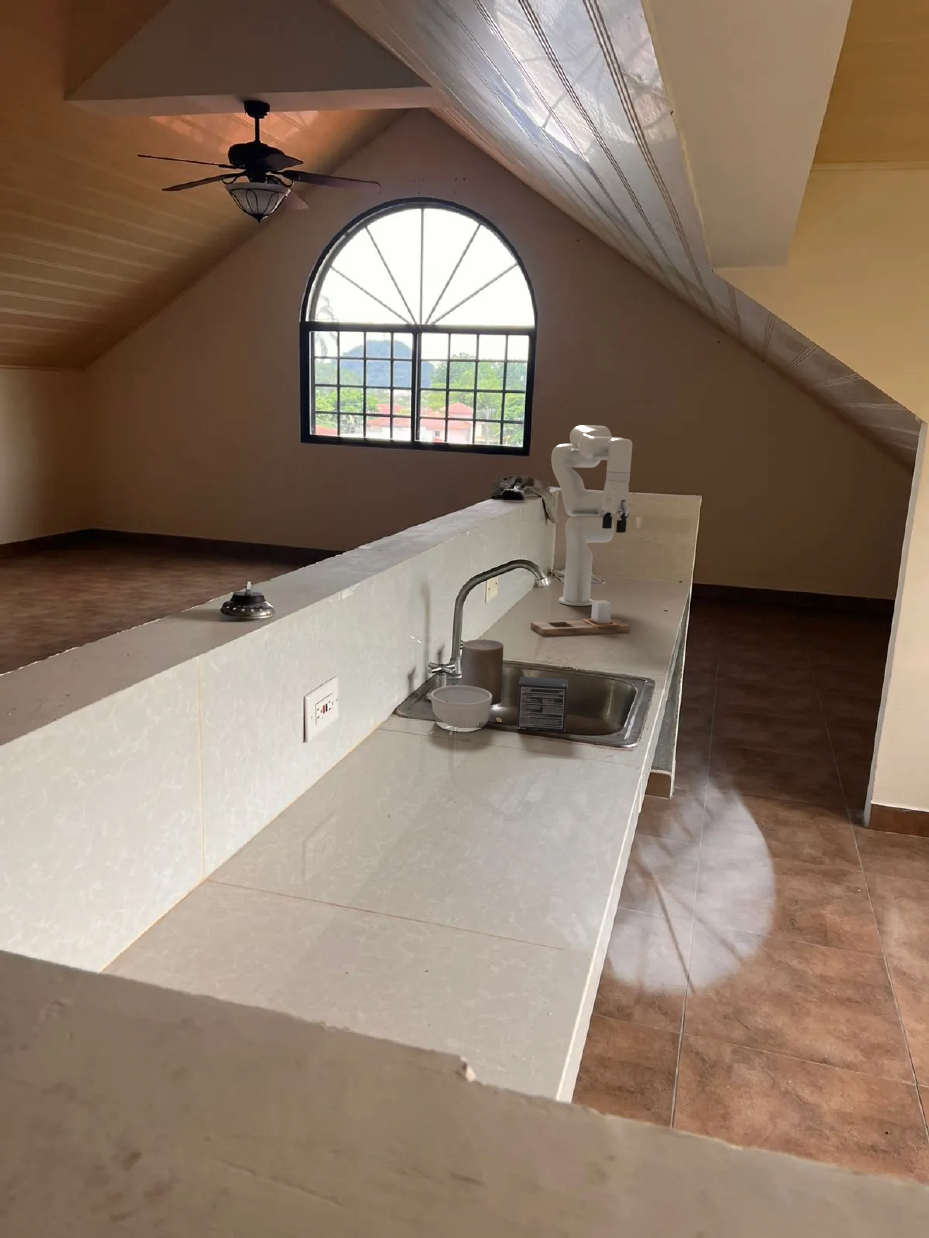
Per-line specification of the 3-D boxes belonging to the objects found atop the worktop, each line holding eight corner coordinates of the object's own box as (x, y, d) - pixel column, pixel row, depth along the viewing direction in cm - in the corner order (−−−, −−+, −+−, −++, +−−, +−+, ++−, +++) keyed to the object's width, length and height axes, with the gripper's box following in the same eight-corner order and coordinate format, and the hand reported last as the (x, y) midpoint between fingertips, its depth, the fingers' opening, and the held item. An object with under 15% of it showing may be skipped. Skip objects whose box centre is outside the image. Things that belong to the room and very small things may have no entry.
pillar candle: (508, 698, 216) (511, 637, 213) (488, 709, 208) (491, 645, 204) (473, 691, 221) (475, 631, 217) (452, 701, 212) (454, 639, 209)
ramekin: (437, 736, 189) (439, 705, 188) (423, 716, 202) (424, 686, 200) (498, 733, 193) (499, 702, 191) (480, 713, 205) (482, 683, 204)
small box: (565, 723, 201) (568, 677, 198) (565, 733, 194) (568, 686, 192) (517, 719, 202) (520, 674, 199) (516, 729, 195) (518, 683, 193)
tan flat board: (530, 628, 288) (530, 620, 287) (615, 624, 297) (615, 617, 296) (542, 635, 278) (543, 628, 278) (629, 632, 288) (630, 624, 287)
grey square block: (590, 627, 291) (592, 600, 289) (602, 627, 293) (605, 600, 291) (596, 631, 287) (598, 603, 285) (609, 630, 289) (611, 603, 287)
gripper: (595, 475, 299) (591, 526, 303) (620, 479, 283) (615, 534, 287) (615, 475, 301) (611, 526, 305) (641, 480, 285) (636, 534, 289)
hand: (613, 530), depth 296 cm, fingers open, 9 cm apart
